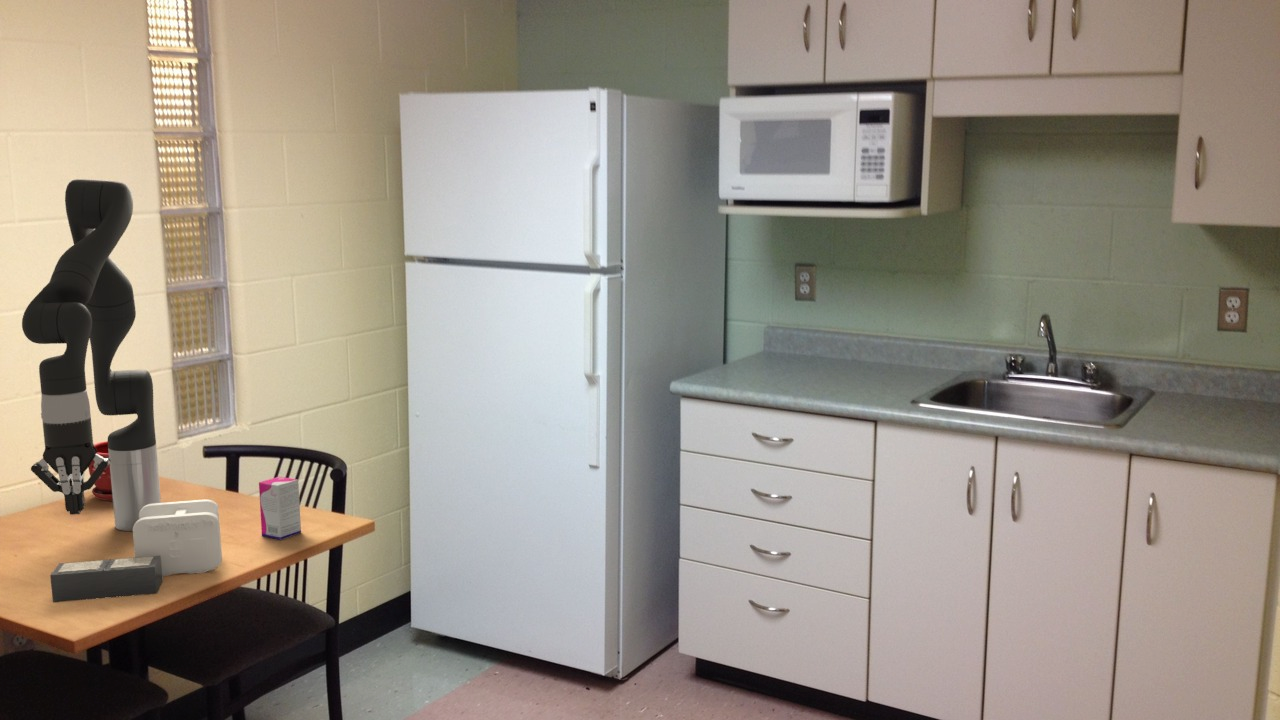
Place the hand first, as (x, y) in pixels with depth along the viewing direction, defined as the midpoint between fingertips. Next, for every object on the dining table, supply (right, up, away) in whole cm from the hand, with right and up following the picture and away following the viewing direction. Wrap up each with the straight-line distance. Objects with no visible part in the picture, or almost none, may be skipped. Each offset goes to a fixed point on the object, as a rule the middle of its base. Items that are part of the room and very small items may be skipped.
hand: (75, 513), depth 200 cm
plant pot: (-20, -5, +63) cm, 66 cm away
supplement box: (+25, -9, +35) cm, 44 cm away
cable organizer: (+12, -13, +16) cm, 24 cm away
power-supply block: (+4, -15, +3) cm, 16 cm away
